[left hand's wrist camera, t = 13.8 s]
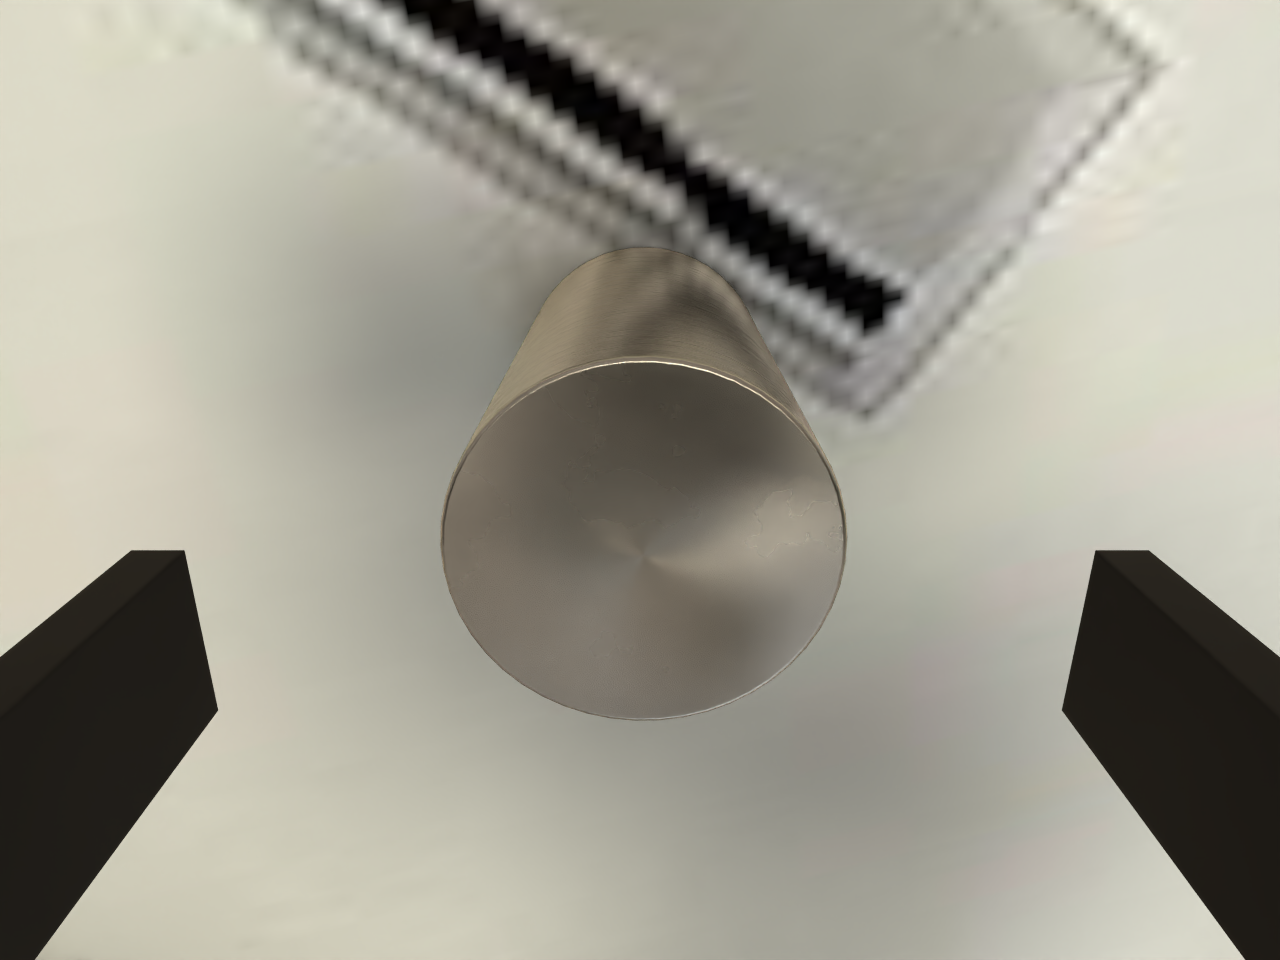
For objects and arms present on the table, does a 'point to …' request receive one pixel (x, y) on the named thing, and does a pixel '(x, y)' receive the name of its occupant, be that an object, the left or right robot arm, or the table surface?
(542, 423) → the can
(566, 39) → the table surface
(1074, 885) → the table surface
